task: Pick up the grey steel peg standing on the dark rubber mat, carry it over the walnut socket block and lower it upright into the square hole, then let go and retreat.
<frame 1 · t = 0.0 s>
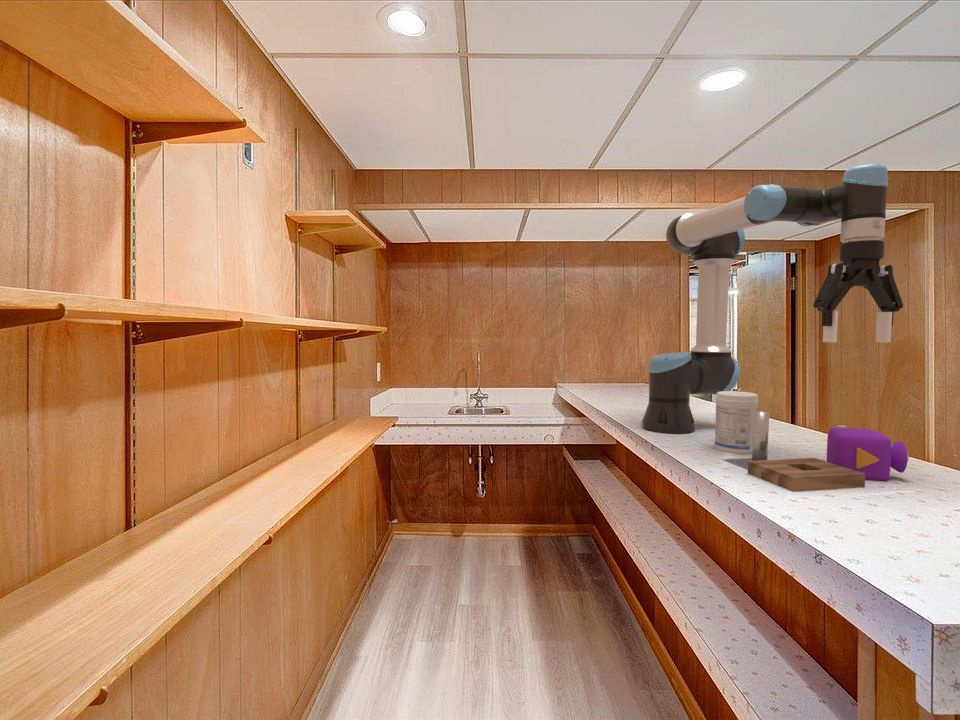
hand: (856, 342, 108), 28 cm above the countertop, fingers open, 13 cm apart
toy camera: (865, 477, 106), on the countertop
peg: (759, 465, 112), resting on mat
mat: (759, 467, 113), on the countertop
socket block: (803, 481, 102), on the countertop
supplement tub: (735, 451, 128), on the countertop
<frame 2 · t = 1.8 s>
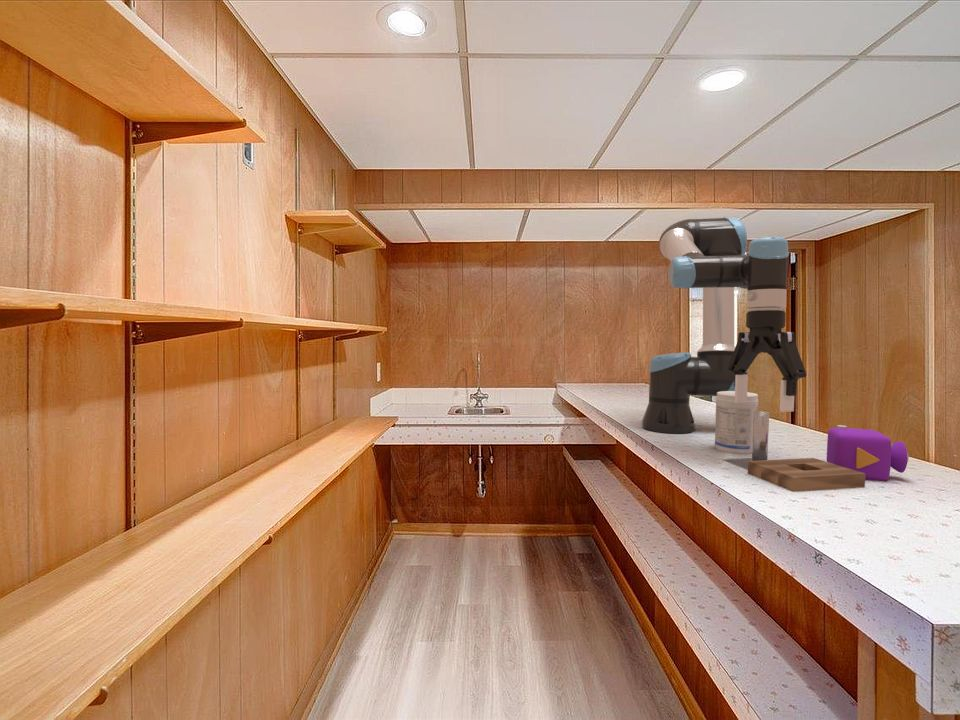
hand: (762, 406, 111), 14 cm above the countertop, fingers open, 13 cm apart
nothing on the countertop moved.
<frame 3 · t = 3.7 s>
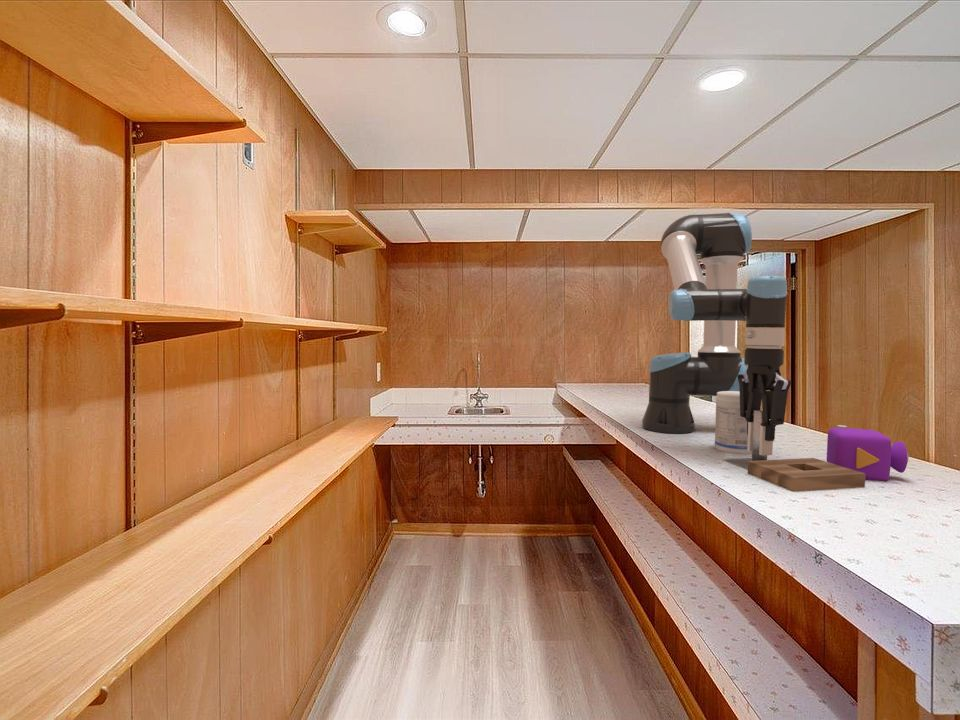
hand: (759, 452, 113), 3 cm above the countertop, fingers closed on peg, 3 cm apart
peg: (759, 463, 113), point 1 cm above the countertop, touching gripper
everything else where it was.
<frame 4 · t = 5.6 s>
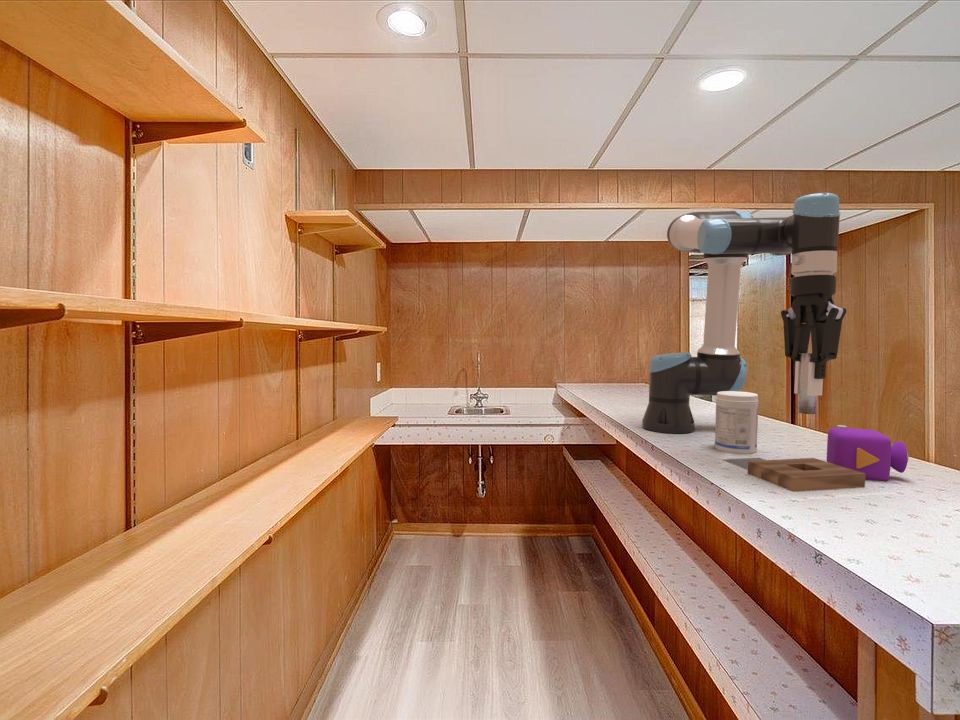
hand: (807, 394, 101), 18 cm above the countertop, fingers closed on peg, 2 cm apart
peg: (807, 413, 101), point 14 cm above the countertop, touching gripper
everything else where it was.
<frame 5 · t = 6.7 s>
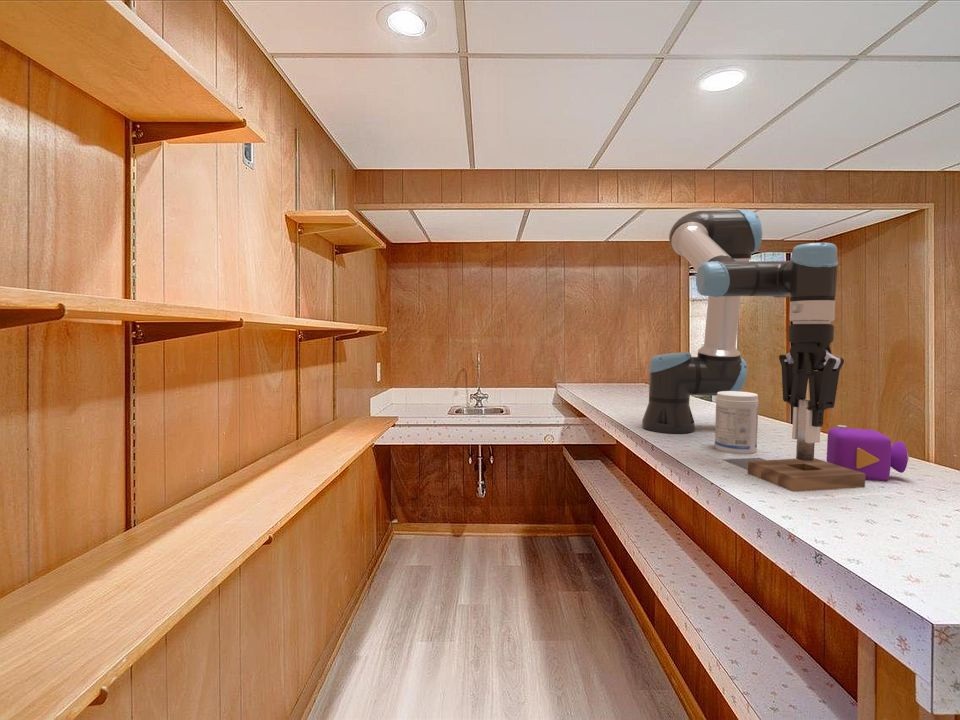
hand: (805, 440, 101), 8 cm above the countertop, fingers closed on peg, 2 cm apart
peg: (804, 459, 102), point 5 cm above the countertop, touching gripper
everything else where it was.
when the fingers open (4 cm above the countertop, at t = 7.8 s): peg stays where it is, resting in socket block.
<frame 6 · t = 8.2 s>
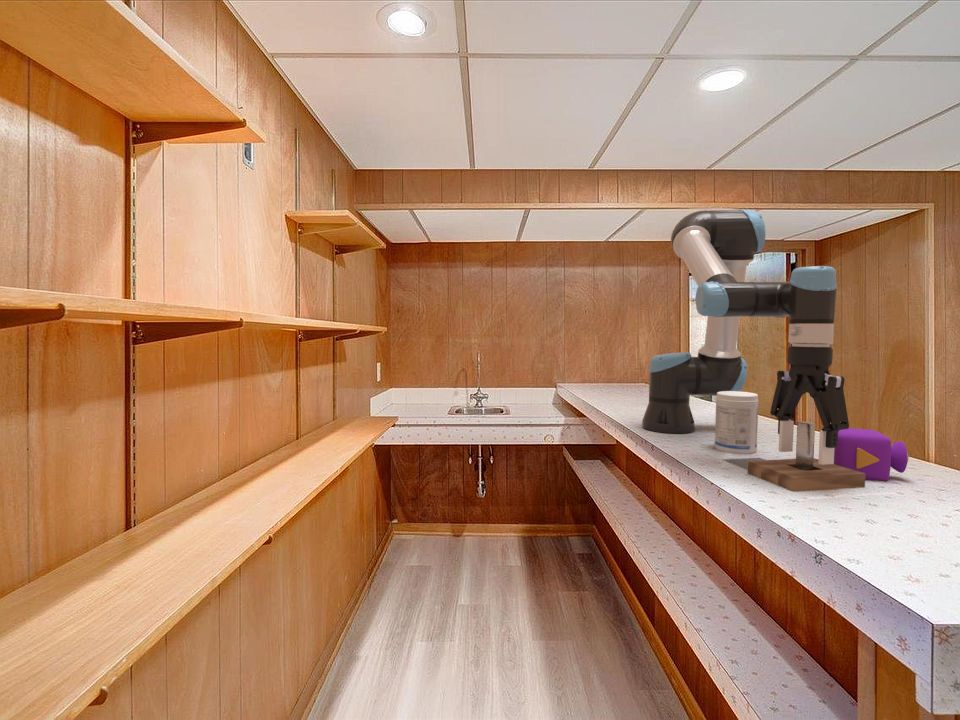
hand: (804, 457, 102), 5 cm above the countertop, fingers open, 9 cm apart
peg: (803, 481, 102), resting in socket block
everything else where it was.
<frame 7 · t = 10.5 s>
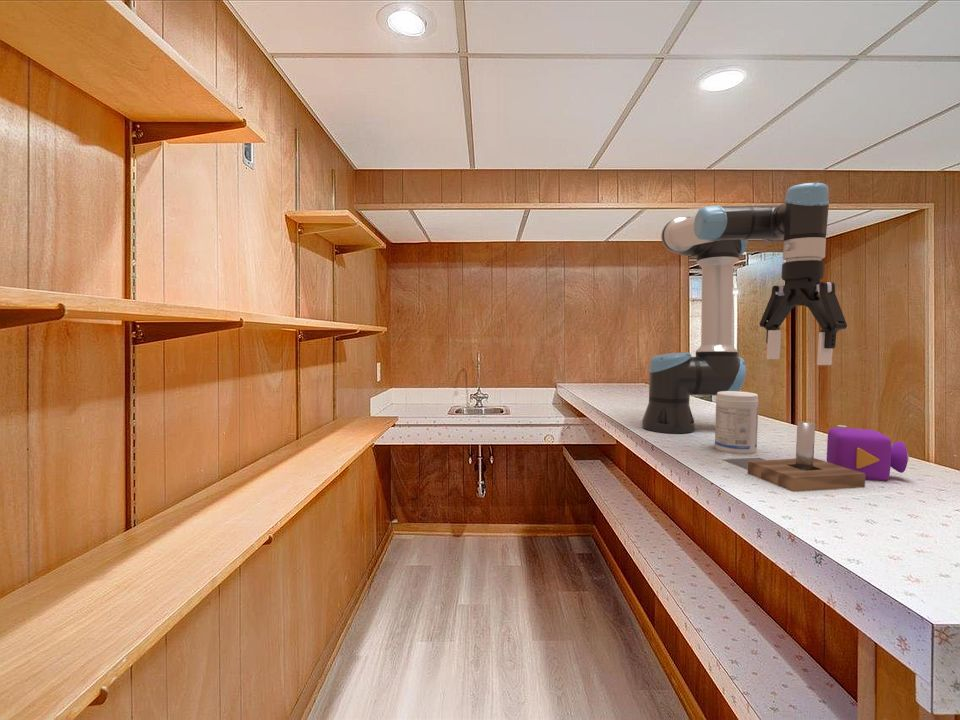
hand: (797, 362, 108), 24 cm above the countertop, fingers open, 13 cm apart
nothing on the countertop moved.
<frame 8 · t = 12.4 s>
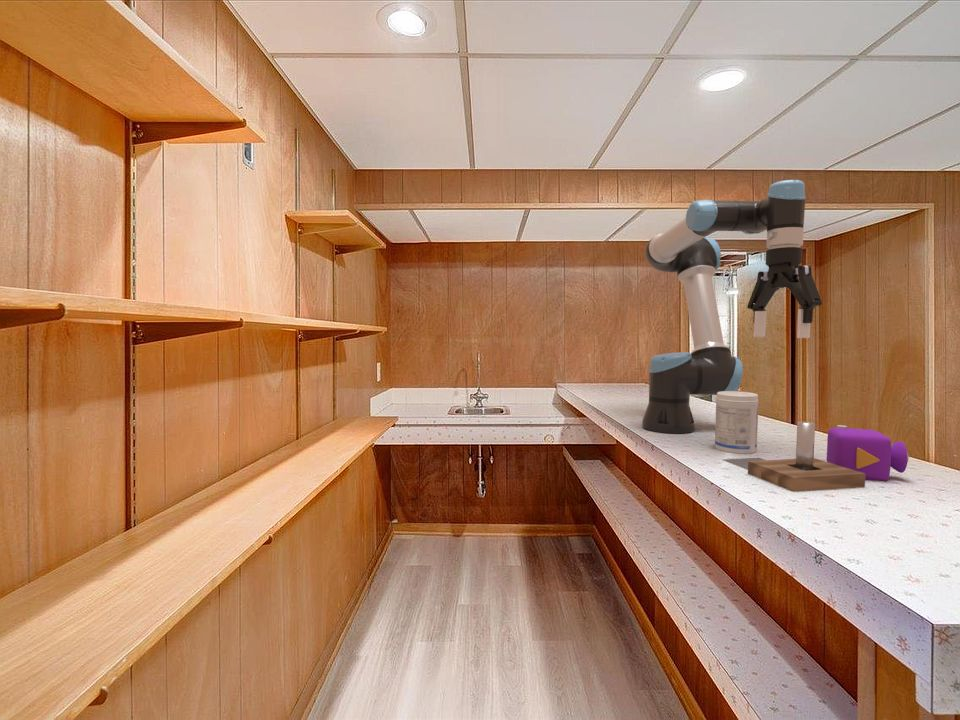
hand: (780, 337, 122), 29 cm above the countertop, fingers open, 13 cm apart
nothing on the countertop moved.
at the end: peg 0.0 cm off-centre on the socket block, point 0.0 cm above the socket block's base; peg tilted 0°; the gripper is holding nothing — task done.
